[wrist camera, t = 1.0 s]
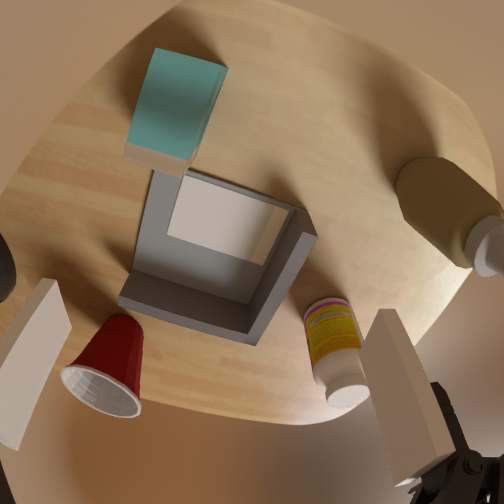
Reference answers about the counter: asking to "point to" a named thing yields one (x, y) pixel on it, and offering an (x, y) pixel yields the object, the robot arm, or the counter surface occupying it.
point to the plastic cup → (109, 369)
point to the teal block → (173, 111)
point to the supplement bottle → (336, 352)
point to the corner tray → (215, 256)
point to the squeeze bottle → (453, 214)
